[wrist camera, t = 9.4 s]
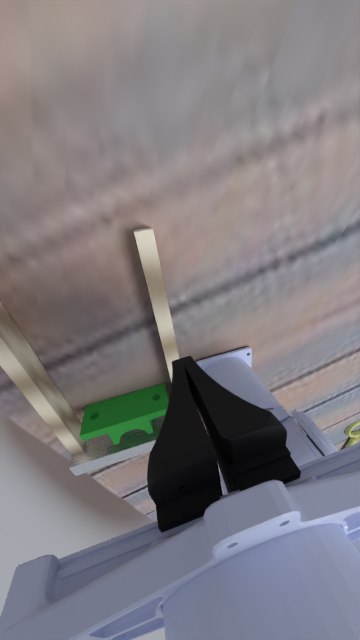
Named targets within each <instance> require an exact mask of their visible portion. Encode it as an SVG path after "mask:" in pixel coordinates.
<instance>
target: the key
mask: <svg viewBox="0 0 360 640" xmlns="http://www.w3.org/2000/svg"><path fill="white" fill-rule="evenodd" d="M359 424H360V420H359V421H356V422H354V423H352V424H351V425H349V426H348V427H347V428H346V429H345V433H346V434H347V435H348V436H349V437H350V439H349V441H348V443H347V446H346V448H347V447H349V446H352V445H355V443H356V441H359V439H360V438H359V437H358V436H360V430H357V431H353V432H351V431H352V429H353V428H354V427H356V426H357V425H359Z"/></svg>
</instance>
